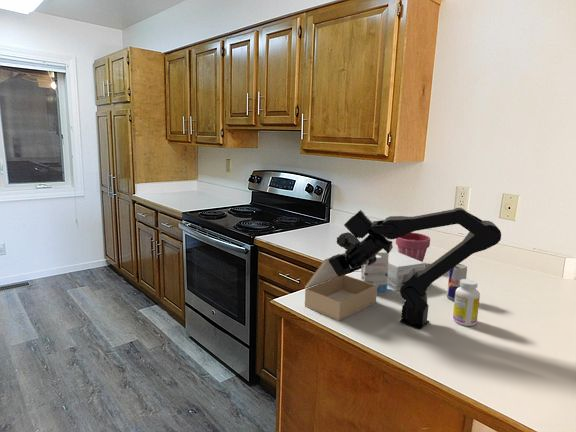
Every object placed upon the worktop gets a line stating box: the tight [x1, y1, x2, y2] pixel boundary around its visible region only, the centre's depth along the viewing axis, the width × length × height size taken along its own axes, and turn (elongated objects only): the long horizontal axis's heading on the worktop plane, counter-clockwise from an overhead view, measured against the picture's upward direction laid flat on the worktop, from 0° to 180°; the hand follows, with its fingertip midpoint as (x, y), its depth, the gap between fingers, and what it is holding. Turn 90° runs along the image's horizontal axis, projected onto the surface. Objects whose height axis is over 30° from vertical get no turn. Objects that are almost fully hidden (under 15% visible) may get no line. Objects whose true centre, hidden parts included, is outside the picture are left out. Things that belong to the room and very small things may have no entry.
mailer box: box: [304, 274, 378, 322], centre depth 127 cm, size 14×20×6 cm
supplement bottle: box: [452, 278, 481, 327], centre depth 116 cm, size 7×7×13 cm
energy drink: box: [446, 263, 468, 302], centre depth 132 cm, size 5×5×12 cm
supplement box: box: [376, 251, 426, 292], centre depth 149 cm, size 17×13×9 cm
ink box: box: [360, 252, 389, 293], centre depth 139 cm, size 8×5×15 cm, turn 96°
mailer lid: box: [304, 252, 347, 289], centre depth 127 cm, size 14×20×1 cm
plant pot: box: [395, 232, 431, 262], centre depth 168 cm, size 14×14×13 cm
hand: (337, 273), depth 127 cm, fingers closed, pressing on mailer lid
